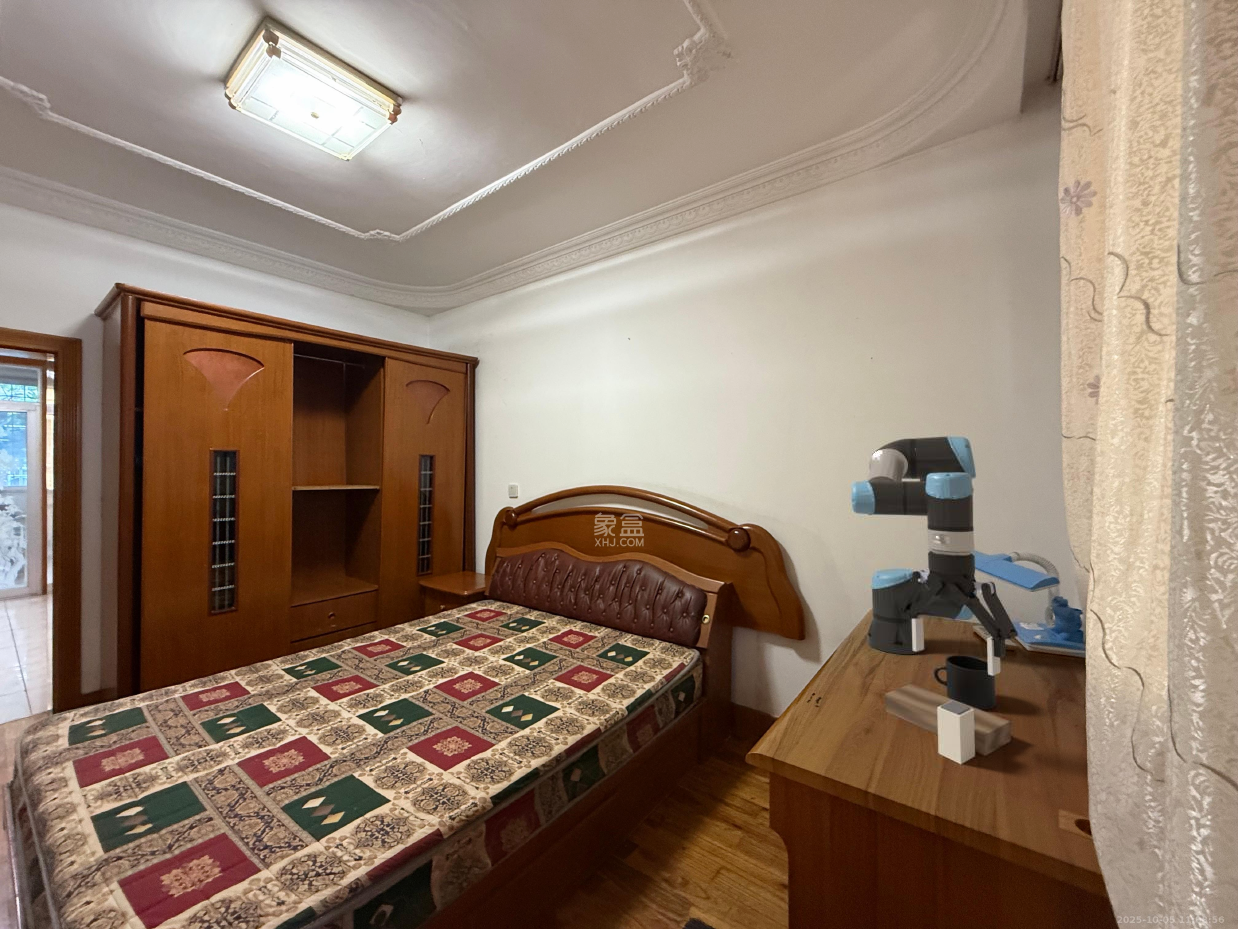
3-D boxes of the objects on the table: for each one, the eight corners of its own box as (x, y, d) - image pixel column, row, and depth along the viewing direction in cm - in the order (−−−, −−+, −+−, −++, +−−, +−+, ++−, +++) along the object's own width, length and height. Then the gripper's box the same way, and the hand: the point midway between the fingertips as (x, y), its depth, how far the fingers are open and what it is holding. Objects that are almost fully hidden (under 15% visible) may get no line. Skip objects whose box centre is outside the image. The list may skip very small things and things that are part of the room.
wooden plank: (911, 700, 116) (911, 683, 116) (1010, 741, 98) (1010, 721, 99) (885, 711, 111) (885, 694, 111) (984, 756, 94) (984, 735, 94)
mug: (936, 685, 123) (935, 649, 124) (996, 698, 116) (995, 660, 116) (931, 700, 116) (930, 662, 116) (995, 715, 109) (994, 674, 109)
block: (952, 745, 97) (951, 699, 97) (974, 756, 94) (973, 708, 94) (938, 753, 95) (937, 706, 95) (960, 764, 92) (959, 714, 92)
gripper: (878, 545, 104) (881, 644, 104) (1017, 564, 82) (1021, 690, 82) (899, 542, 107) (902, 638, 107) (1038, 559, 85) (1042, 680, 85)
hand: (953, 661), depth 94 cm, fingers open, 13 cm apart
